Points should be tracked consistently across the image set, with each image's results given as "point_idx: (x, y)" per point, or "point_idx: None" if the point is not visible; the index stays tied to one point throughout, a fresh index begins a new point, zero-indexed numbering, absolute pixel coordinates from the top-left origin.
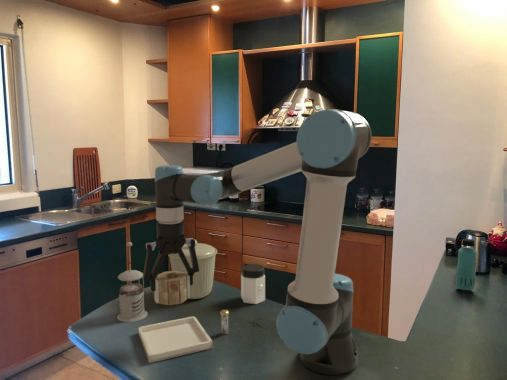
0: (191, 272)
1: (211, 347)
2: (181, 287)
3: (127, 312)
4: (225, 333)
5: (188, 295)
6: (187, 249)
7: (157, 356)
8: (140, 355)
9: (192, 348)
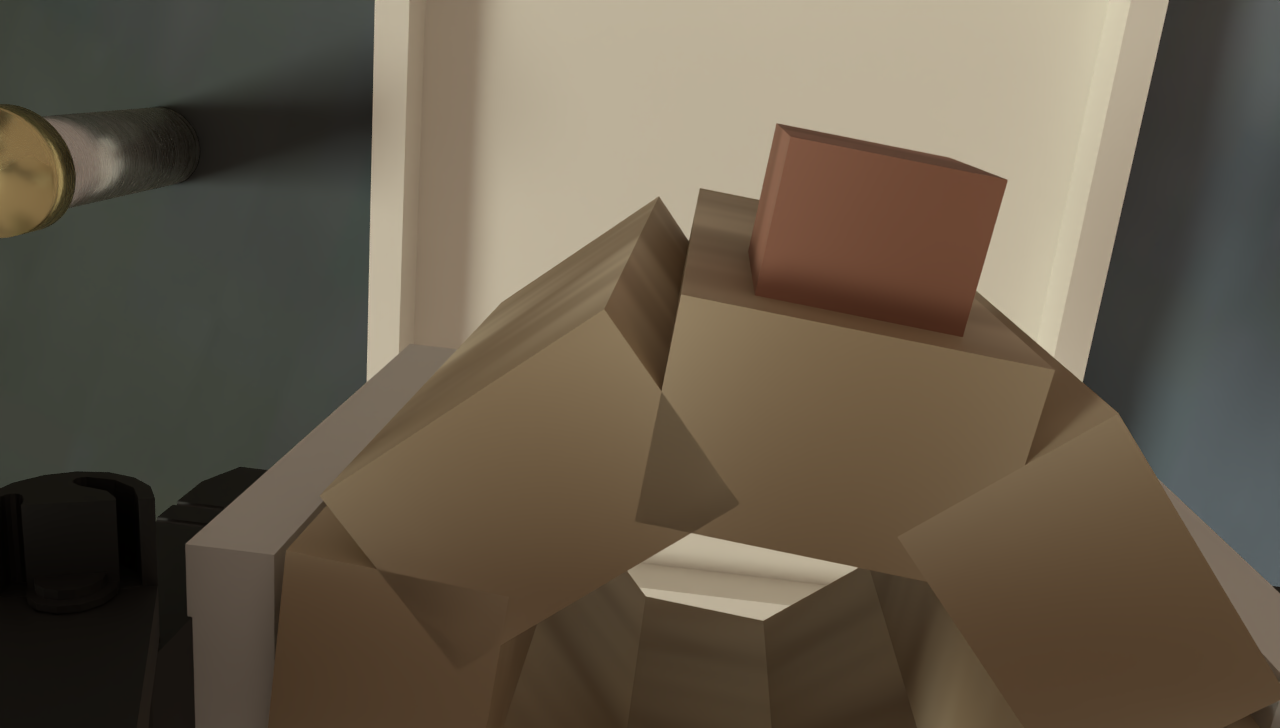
0: (48, 593)
1: None
2: (596, 277)
3: None
4: (162, 109)
5: (429, 361)
6: None
7: None
8: (1157, 171)
9: None
